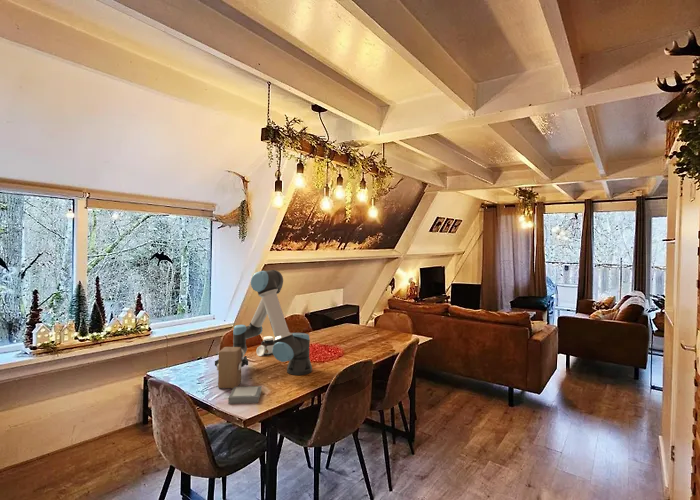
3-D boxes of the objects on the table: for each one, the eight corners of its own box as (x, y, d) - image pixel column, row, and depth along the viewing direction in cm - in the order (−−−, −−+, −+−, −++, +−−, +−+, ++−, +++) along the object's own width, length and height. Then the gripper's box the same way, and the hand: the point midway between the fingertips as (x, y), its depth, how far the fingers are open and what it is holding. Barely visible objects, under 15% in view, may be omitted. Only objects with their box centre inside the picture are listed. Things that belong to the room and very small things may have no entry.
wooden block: (241, 382, 211) (242, 346, 211) (236, 389, 201) (236, 351, 201) (223, 382, 211) (224, 346, 211) (217, 388, 201) (217, 351, 201)
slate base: (261, 391, 198) (261, 385, 198) (257, 402, 184) (258, 396, 184) (234, 392, 197) (234, 386, 197) (228, 403, 183) (228, 397, 183)
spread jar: (276, 352, 269) (276, 336, 269) (271, 357, 258) (272, 340, 258) (260, 351, 271) (260, 335, 270) (254, 356, 259) (255, 339, 259)
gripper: (256, 361, 225) (250, 374, 203) (216, 362, 223) (206, 375, 201) (256, 348, 225) (250, 360, 203) (216, 349, 223) (206, 361, 201)
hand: (228, 367), depth 202 cm, fingers closed on wooden block, 11 cm apart
